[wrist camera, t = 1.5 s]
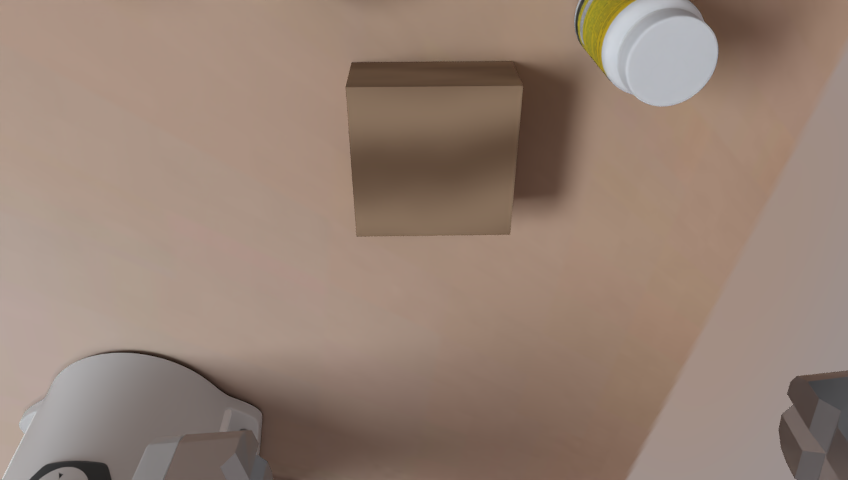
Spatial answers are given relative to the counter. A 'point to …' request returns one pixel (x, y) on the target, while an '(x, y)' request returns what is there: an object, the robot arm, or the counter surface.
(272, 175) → the counter surface
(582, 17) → the supplement bottle
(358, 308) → the counter surface
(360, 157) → the walnut block
